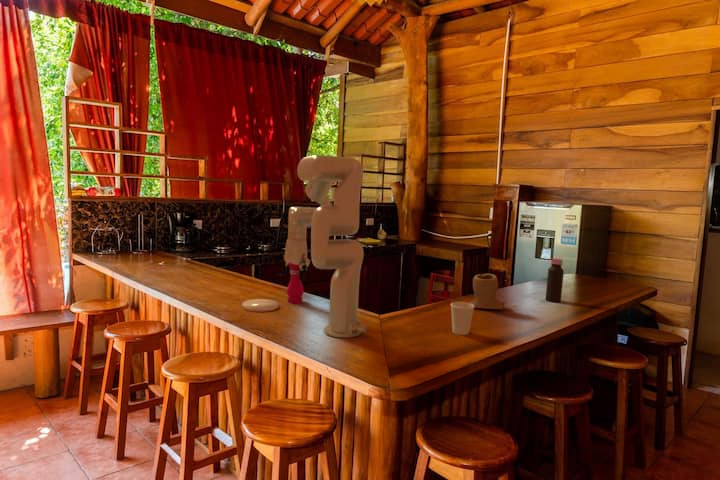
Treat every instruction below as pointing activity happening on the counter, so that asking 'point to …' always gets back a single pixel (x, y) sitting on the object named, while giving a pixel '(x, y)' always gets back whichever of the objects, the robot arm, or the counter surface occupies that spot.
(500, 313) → the counter surface
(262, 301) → the disc
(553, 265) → the bottle
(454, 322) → the dixie cup
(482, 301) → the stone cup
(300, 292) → the pepper mill
